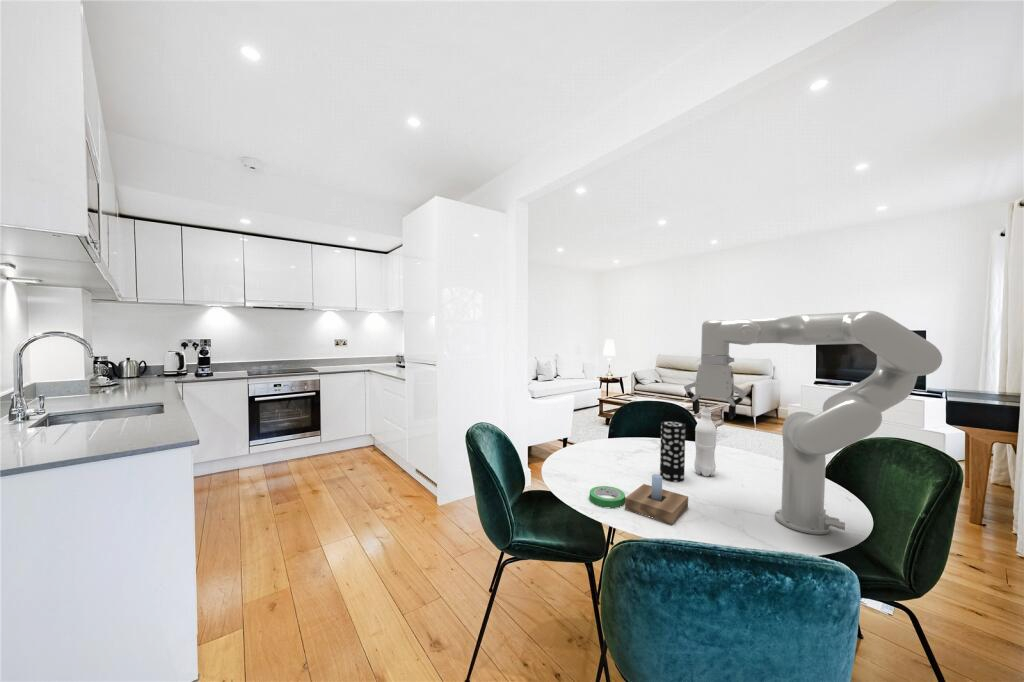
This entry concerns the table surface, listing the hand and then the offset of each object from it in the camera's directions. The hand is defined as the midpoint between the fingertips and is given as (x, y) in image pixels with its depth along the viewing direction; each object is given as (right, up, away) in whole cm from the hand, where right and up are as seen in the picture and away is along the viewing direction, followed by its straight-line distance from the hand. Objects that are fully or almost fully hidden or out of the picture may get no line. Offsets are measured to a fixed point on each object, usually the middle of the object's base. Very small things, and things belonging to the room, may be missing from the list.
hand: (713, 415), depth 117 cm
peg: (-18, -28, -1) cm, 33 cm away
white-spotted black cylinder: (-3, -28, +24) cm, 36 cm away
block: (-18, -28, -1) cm, 33 cm away
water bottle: (+11, -28, +27) cm, 40 cm away
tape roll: (-32, -29, +5) cm, 43 cm away
